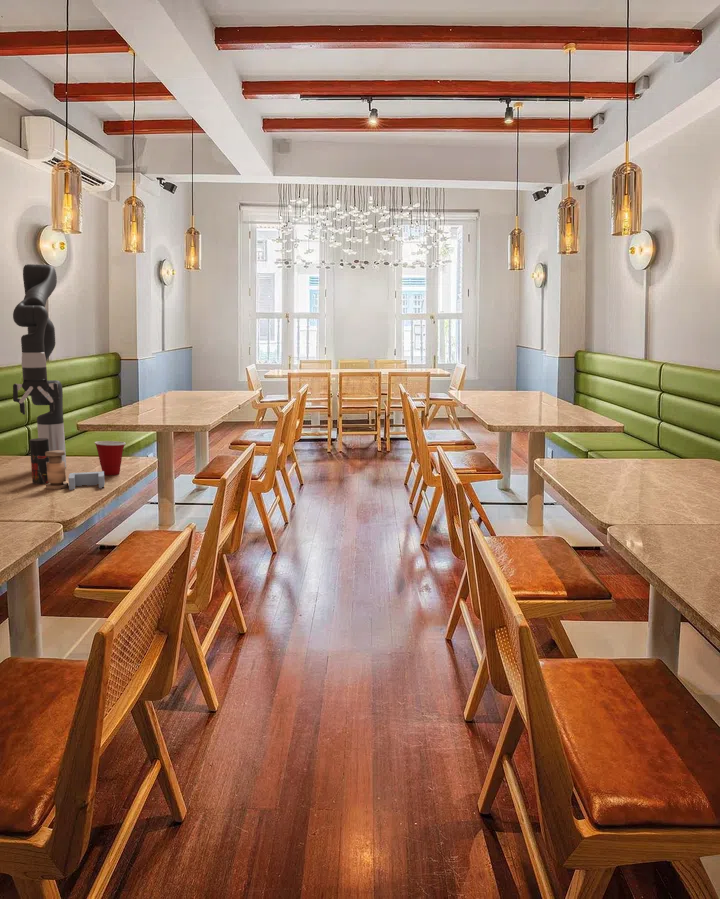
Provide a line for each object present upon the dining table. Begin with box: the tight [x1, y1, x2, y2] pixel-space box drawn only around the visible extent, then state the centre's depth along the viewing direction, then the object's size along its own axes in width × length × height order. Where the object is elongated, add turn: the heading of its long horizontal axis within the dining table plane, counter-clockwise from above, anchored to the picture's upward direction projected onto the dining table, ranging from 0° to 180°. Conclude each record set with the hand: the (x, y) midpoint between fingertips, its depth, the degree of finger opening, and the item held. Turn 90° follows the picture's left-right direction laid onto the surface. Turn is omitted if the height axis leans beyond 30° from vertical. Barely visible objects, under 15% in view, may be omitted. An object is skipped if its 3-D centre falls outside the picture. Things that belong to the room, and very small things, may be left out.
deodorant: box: [29, 437, 49, 485], centre depth 257 cm, size 6×6×15 cm
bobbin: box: [45, 450, 69, 490], centre depth 249 cm, size 7×7×12 cm
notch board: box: [67, 470, 106, 491], centre depth 251 cm, size 9×11×4 cm
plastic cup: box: [94, 440, 126, 476], centre depth 272 cm, size 11×11×12 cm
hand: (37, 413), depth 254 cm, fingers open, 8 cm apart
